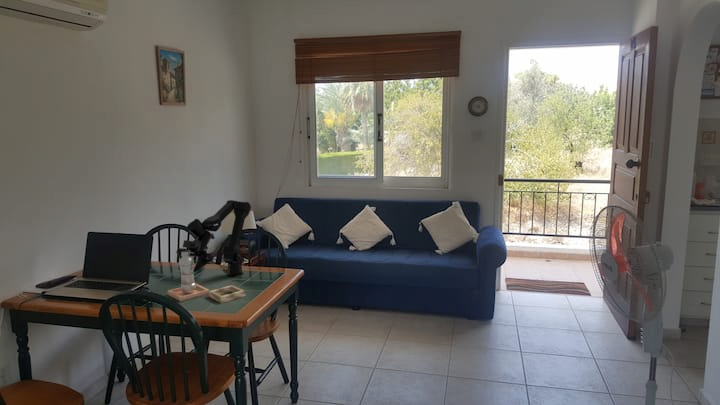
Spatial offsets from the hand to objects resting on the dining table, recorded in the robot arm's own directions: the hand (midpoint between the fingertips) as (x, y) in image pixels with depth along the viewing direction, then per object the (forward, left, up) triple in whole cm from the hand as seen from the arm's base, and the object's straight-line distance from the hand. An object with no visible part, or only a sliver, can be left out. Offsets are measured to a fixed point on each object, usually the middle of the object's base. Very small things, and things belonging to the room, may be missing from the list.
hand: (186, 270), depth 225 cm
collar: (-11, +16, -11) cm, 23 cm away
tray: (0, 0, -11) cm, 11 cm away
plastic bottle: (0, 0, -11) cm, 11 cm away
